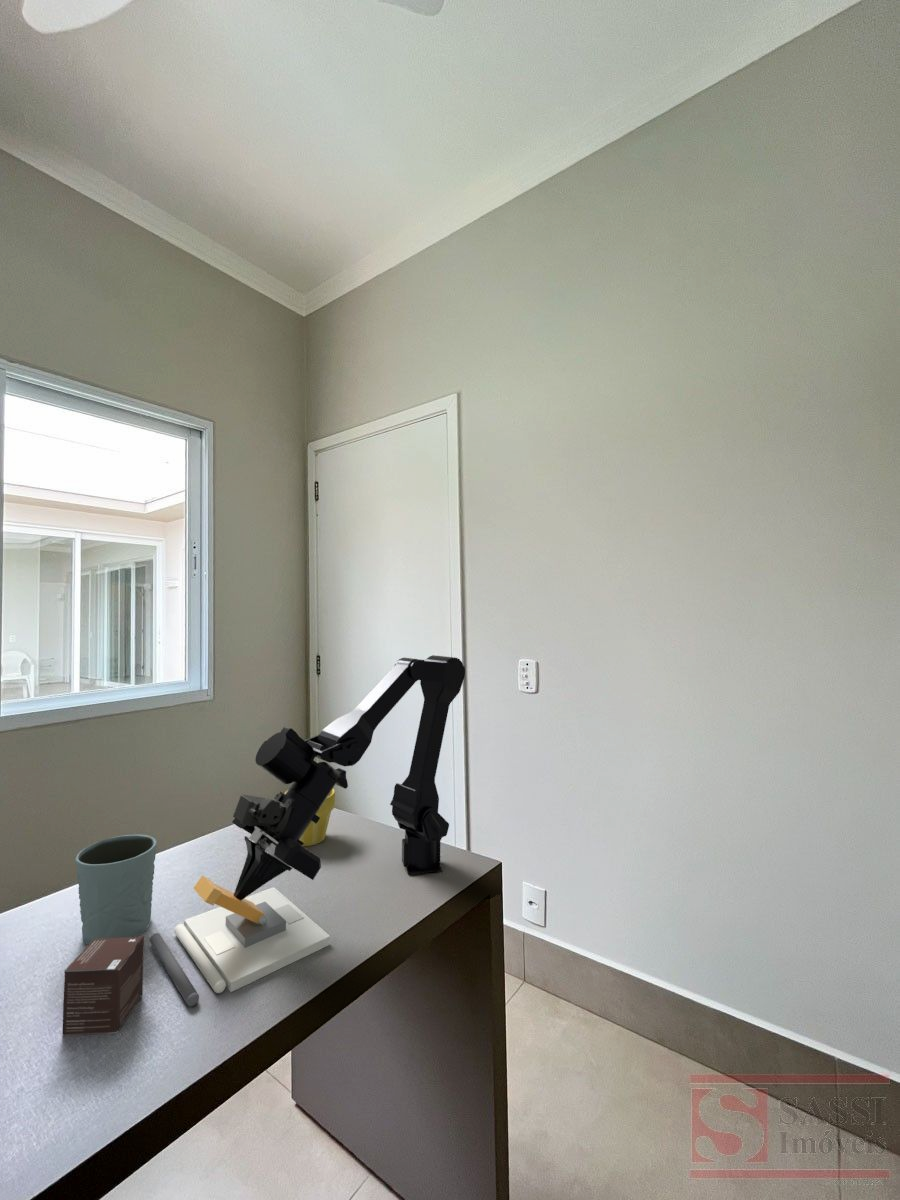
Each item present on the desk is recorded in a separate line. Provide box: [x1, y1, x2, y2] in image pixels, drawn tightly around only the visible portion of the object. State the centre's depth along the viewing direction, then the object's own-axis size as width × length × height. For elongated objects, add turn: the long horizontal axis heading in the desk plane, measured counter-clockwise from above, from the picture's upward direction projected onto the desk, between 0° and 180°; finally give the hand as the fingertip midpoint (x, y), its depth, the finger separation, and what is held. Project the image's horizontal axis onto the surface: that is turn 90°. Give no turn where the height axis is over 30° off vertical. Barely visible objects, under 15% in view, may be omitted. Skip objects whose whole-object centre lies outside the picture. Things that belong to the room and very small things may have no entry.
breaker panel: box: [183, 886, 331, 993], centre depth 77 cm, size 14×18×2 cm
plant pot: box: [283, 788, 336, 847], centre depth 110 cm, size 10×10×10 cm
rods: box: [149, 923, 227, 1007], centre depth 70 cm, size 17×5×1 cm, turn 43°
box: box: [61, 936, 145, 1037], centre depth 62 cm, size 6×6×7 cm
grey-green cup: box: [75, 833, 158, 946], centre depth 78 cm, size 10×10×12 cm
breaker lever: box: [193, 875, 267, 925], centre depth 75 cm, size 2×5×10 cm
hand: (236, 898), depth 75 cm, fingers closed, pressing on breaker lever
